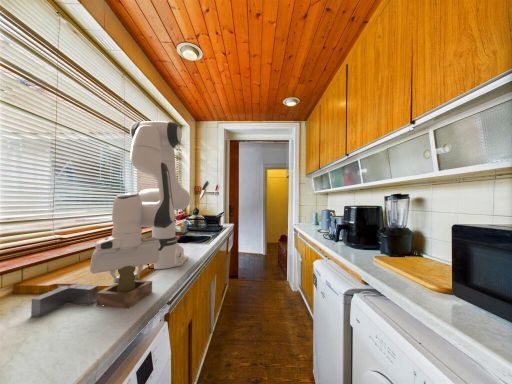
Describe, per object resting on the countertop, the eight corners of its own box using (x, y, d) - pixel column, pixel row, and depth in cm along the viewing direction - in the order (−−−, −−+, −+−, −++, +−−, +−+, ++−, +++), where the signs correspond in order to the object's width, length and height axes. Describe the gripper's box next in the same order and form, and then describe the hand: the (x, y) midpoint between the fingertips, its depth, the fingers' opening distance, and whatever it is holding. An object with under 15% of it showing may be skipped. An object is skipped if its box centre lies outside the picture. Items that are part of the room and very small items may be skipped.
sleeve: (123, 290, 80) (123, 279, 80) (151, 292, 78) (152, 281, 78) (96, 305, 68) (96, 292, 68) (128, 308, 66) (128, 295, 67)
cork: (127, 301, 70) (127, 267, 70) (111, 299, 71) (111, 266, 71) (140, 292, 76) (140, 261, 76) (125, 291, 77) (126, 260, 77)
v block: (36, 307, 67) (36, 290, 67) (97, 293, 76) (98, 279, 76) (29, 319, 60) (29, 301, 60) (97, 303, 69) (98, 287, 70)
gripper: (157, 235, 82) (157, 271, 82) (90, 242, 70) (90, 284, 70) (161, 238, 77) (161, 276, 77) (90, 245, 65) (89, 291, 65)
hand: (126, 280), depth 73 cm, fingers closed on cork, 4 cm apart
